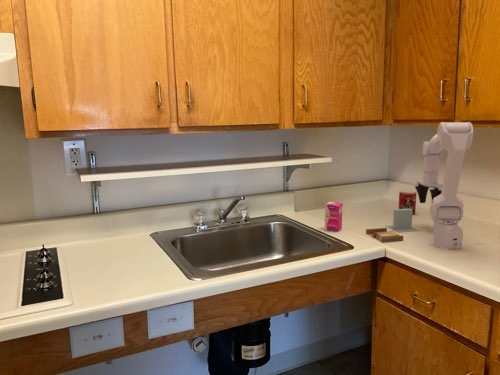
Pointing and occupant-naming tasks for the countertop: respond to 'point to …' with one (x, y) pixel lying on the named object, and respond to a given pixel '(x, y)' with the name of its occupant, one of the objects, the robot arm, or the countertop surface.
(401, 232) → the rubber mat
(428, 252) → the countertop surface
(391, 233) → the upper offcut
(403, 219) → the grey square slab
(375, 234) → the walnut rack
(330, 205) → the supplement box
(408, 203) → the canned food
